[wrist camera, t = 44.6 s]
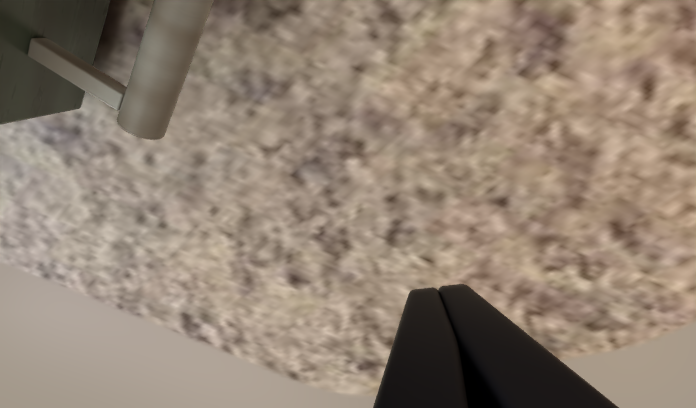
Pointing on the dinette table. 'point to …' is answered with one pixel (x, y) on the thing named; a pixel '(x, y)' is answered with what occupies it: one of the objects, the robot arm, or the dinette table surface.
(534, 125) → the dinette table surface
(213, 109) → the dinette table surface
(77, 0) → the drawer
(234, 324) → the dinette table surface
